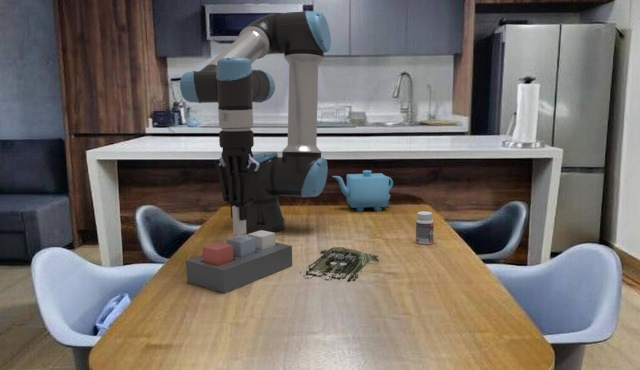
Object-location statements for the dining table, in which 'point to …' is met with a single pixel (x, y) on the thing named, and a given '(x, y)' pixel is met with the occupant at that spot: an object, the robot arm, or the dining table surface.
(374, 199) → the teapot
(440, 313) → the dining table surface
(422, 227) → the pill bottle
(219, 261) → the red key
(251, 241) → the blue key
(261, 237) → the white key
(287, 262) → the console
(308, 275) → the treatment plant
